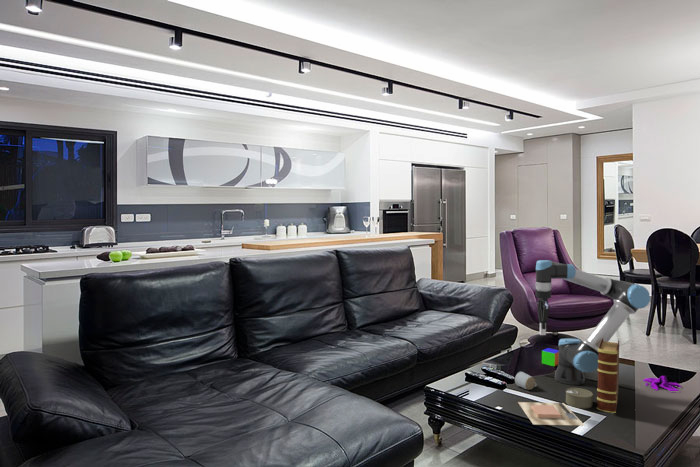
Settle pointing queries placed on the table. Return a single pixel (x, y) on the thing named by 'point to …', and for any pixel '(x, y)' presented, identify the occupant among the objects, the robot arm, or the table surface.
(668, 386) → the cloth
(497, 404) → the table surface
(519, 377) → the grey cylinder
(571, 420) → the board
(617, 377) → the decorative book
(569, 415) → the turner
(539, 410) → the tile
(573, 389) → the beige short cylinder
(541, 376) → the table surface
